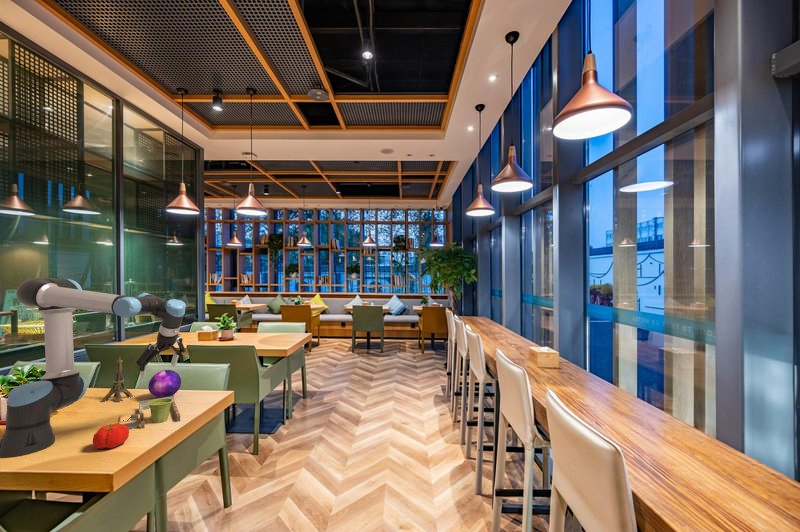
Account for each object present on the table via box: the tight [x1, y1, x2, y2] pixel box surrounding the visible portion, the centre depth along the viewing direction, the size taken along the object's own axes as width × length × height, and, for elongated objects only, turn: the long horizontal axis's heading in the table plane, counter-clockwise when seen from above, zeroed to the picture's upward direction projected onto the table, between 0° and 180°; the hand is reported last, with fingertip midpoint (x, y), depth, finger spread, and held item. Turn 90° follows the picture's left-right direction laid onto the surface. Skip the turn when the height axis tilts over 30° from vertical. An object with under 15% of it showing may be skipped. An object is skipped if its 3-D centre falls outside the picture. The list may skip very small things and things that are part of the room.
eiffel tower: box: [99, 357, 134, 403], centre depth 191 cm, size 11×11×25 cm
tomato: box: [92, 422, 130, 450], centre depth 135 cm, size 11×11×8 cm
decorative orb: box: [148, 369, 182, 399], centre depth 193 cm, size 15×15×15 cm
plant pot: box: [148, 398, 173, 424], centre depth 160 cm, size 9×9×9 cm
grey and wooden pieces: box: [121, 395, 181, 430], centre depth 165 cm, size 29×22×4 cm
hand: (158, 370), depth 161 cm, fingers open, 13 cm apart
